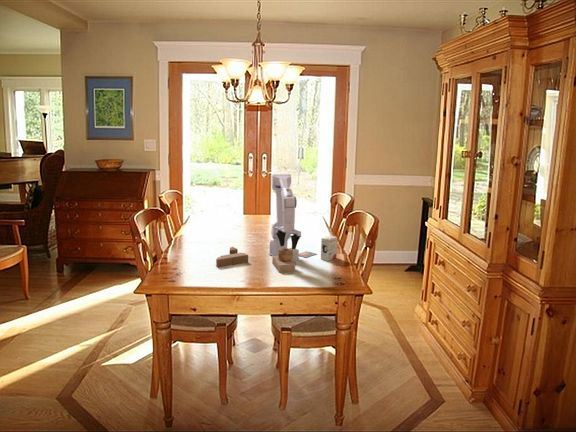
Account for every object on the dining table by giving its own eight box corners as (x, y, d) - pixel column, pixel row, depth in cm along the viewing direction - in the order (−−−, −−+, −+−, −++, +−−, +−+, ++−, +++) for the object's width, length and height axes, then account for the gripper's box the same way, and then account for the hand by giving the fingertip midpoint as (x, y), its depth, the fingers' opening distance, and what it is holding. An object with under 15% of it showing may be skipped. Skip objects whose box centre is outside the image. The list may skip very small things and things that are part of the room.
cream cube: (285, 258, 262) (285, 249, 261) (291, 256, 266) (291, 247, 265) (292, 260, 259) (292, 251, 258) (298, 258, 263) (298, 249, 262)
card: (295, 255, 269) (295, 254, 269) (306, 251, 276) (306, 251, 276) (305, 257, 264) (305, 257, 264) (316, 254, 272) (316, 253, 272)
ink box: (329, 256, 269) (330, 235, 267) (336, 258, 266) (338, 236, 264) (320, 259, 263) (321, 237, 260) (327, 261, 260) (328, 239, 257)
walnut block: (278, 259, 247) (278, 249, 246) (284, 257, 250) (285, 247, 249) (286, 261, 244) (286, 251, 242) (292, 259, 247) (292, 249, 246)
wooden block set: (250, 252, 253) (218, 257, 243) (250, 263, 254) (218, 268, 244) (234, 244, 267) (203, 249, 257) (234, 254, 268) (203, 259, 258)
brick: (295, 273, 241) (296, 263, 240) (278, 273, 239) (279, 264, 238) (287, 263, 256) (287, 254, 255) (271, 263, 254) (271, 255, 253)
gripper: (272, 219, 245) (271, 246, 247) (295, 224, 236) (294, 251, 238) (281, 217, 250) (281, 243, 253) (304, 222, 241) (303, 249, 244)
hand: (288, 247), depth 246 cm, fingers open, 7 cm apart
